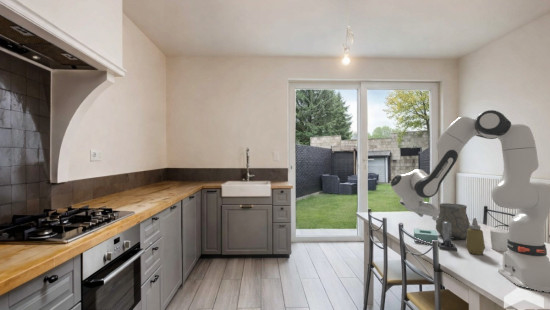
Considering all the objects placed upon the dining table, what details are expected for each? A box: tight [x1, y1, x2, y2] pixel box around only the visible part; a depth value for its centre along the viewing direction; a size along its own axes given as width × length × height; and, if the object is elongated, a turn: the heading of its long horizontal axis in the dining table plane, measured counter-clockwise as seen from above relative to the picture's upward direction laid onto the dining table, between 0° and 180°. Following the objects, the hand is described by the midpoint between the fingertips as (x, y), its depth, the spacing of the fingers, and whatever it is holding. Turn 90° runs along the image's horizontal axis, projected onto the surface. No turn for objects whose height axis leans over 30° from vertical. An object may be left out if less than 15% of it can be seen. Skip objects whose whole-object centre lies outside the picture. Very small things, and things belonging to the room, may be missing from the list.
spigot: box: [442, 221, 453, 247], centre depth 153 cm, size 4×4×14 cm
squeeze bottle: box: [465, 217, 486, 256], centre depth 145 cm, size 8×8×18 cm
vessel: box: [435, 202, 471, 240], centre depth 174 cm, size 22×22×20 cm
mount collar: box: [437, 241, 458, 252], centre depth 153 cm, size 8×8×2 cm
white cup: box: [489, 228, 509, 253], centre depth 150 cm, size 8×8×10 cm
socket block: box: [413, 228, 439, 244], centre depth 167 cm, size 12×12×5 cm
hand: (428, 217), depth 150 cm, fingers open, 8 cm apart
